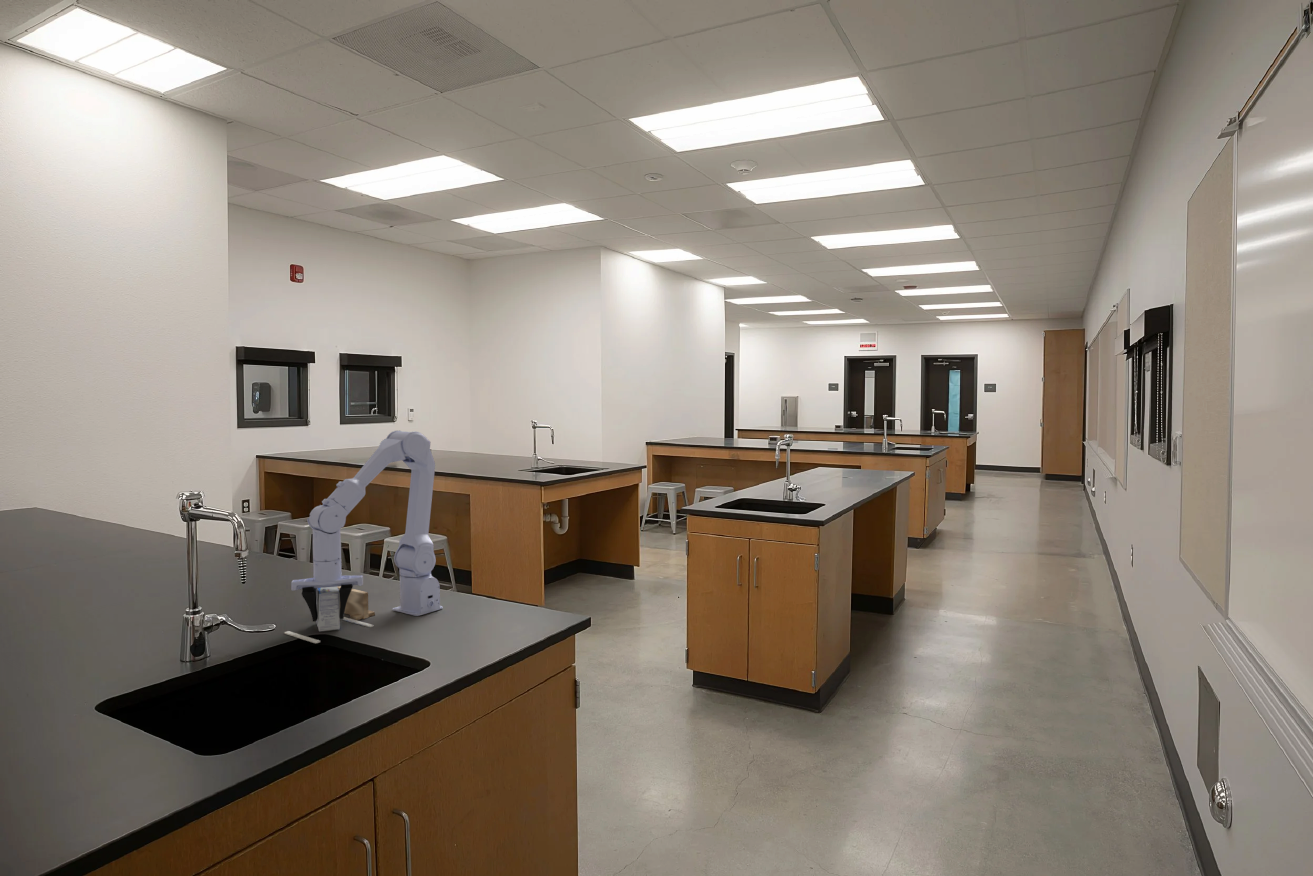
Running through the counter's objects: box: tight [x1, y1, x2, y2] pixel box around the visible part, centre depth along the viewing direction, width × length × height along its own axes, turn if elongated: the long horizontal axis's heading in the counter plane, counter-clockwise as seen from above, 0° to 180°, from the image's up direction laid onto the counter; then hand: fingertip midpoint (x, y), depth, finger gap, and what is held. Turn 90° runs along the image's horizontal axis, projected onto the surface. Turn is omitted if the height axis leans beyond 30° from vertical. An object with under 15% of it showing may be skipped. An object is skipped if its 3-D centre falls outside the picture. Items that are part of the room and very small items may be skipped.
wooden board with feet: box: [337, 586, 376, 621], centre depth 175 cm, size 14×5×6 cm, turn 57°
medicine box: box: [315, 587, 341, 632], centre depth 164 cm, size 8×4×9 cm, turn 29°
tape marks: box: [283, 616, 374, 644], centre depth 162 cm, size 12×14×1 cm
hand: (328, 619), depth 162 cm, fingers closed on medicine box, 5 cm apart
